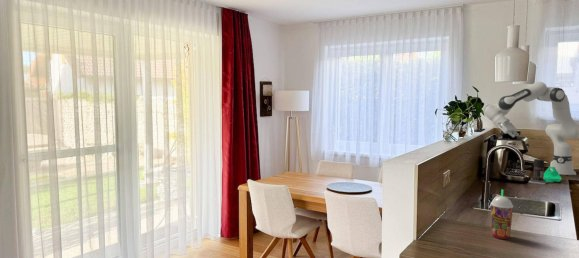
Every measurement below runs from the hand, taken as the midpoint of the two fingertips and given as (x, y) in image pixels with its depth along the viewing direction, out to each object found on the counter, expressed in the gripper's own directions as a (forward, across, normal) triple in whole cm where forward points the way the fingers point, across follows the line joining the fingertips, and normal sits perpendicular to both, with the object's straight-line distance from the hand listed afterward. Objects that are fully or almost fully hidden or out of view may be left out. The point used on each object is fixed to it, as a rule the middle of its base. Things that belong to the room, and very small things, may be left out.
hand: (516, 136), depth 282 cm
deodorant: (+33, -4, +10) cm, 35 cm away
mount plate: (+33, -4, +11) cm, 35 cm away
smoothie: (+43, -143, 0) cm, 149 cm away
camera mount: (+37, +7, +8) cm, 39 cm away
